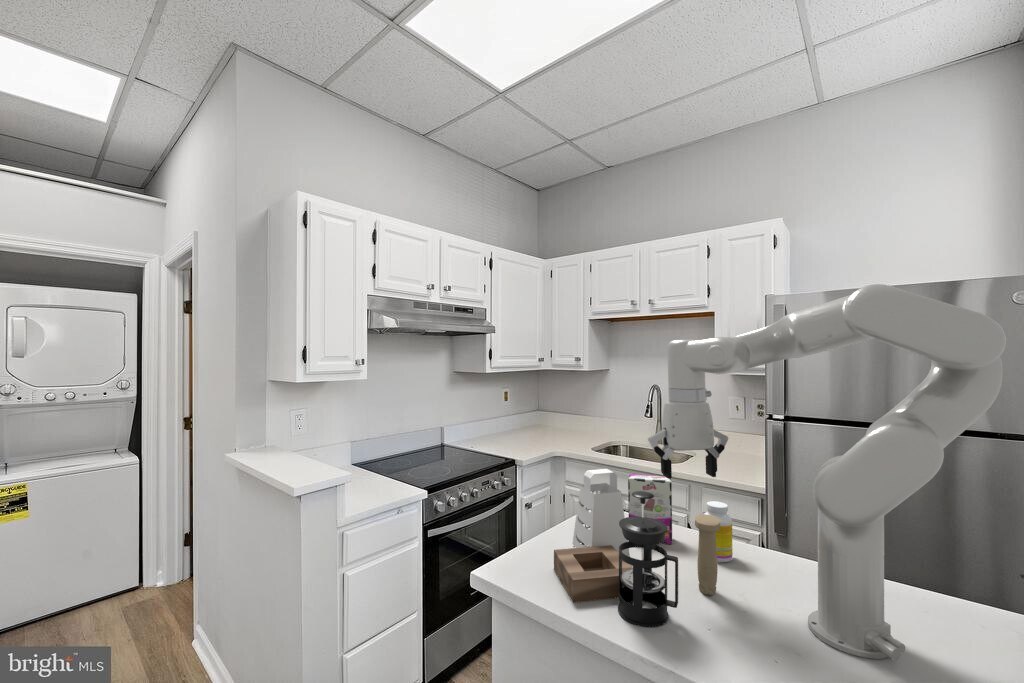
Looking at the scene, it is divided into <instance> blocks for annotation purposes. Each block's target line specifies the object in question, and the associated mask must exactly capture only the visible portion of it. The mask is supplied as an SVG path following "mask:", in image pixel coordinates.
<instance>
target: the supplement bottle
mask: <svg viewBox="0 0 1024 683" xmlns="http://www.w3.org/2000/svg"><path fill="white" fill-rule="evenodd" d="M706 510H707V511H706V512H704V513H703V514H706V515H712V516H715V517H717V518H718V519H719V520H720V530H718V531H716V549H717V563H729V562H731V561H732V560H733V553H734V552H733V519H732V517H731V516H730V515H729V514H728V510H729V507H728V504H727V503H725V502H723V501H722V502H721V501H717V500H716V501H715V500H714V501H713V500H712V501H707V502H706Z"/></svg>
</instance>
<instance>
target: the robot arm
mask: <svg viewBox="0 0 1024 683" xmlns="http://www.w3.org/2000/svg"><path fill="white" fill-rule="evenodd" d="M872 340H877V341H879V342H881V343H885V344H887V345H889V346H892V347H895V348H898V349H900V350H904V351H906V352H909V353H912V354H914V355H917V356H920V357H923V358H925V359H928V360H930V361H931V365H930V366H931V367H930V370H929V372H928V374H927V375H926V377H925V378H924V379H923V381H922V382H920V383H919V384H918V385H917V386H916V387H915V388H914V389H913V390H912V391H911V392H910V393H909V394H908V395H907V396H906V397H904V398H903V399H902V400H901V401H900V402H899V403H897V404H896V405H895V406H894V407H893V408H892V409H890V410H889V411H888V412H887V413H885V414H884V415H883V416H881V417H880V418H878V419H876V420H875V421H873V423H871V424H870V425H869V427H868V428H867V429H866V431H865V432H866V433H865V435H864V436H863V437H861V439H859V441H857V442H856V443H855V444H854V445H853V446H852V447H850V449H848V450H847V451H846V452H845V453H843V455H837V456H834V457H831V458H829V459H828V460H826V461H825V462H823V464H821V467H820V468H819V469H818V472H817V474H816V477H815V479H814V482H813V485H812V496H813V500H814V503H815V505H816V506H817V610H814V611H812V612H811V613H809V615H807V625H808V628H809V630H810V631H811V632H812V634H813V635H814V636H815V637H817V638H818V639H819V640H821V641H823V642H824V643H825V644H826V645H828V646H831V647H832V648H835V649H837V650H838V651H841V652H844V653H847V654H850V655H853V656H857V657H861V658H867V659H875V660H877V659H880V660H881V659H888V658H890V659H891V660H892V661H895V662H898V661H899V660H900V659H901V657H902V653H904V652H905V650H906V645H905V644H904V643H902V642H901V641H899V640H898V639H895V638H894V637H893V636H892V634H891V633H892V632H891V631H892V630H891V628H892V627H891V624H890V623H888V622H886V621H885V516H886V515H888V514H889V513H890V512H891V511H893V509H895V508H897V507H898V506H899V505H900V504H902V503H903V502H904V501H906V500H907V499H908V498H909V497H910V496H912V495H913V494H915V493H916V492H917V491H919V490H920V489H921V488H922V487H924V486H925V485H926V484H927V483H928V482H930V481H931V480H932V479H933V478H934V477H935V476H936V475H937V473H938V472H939V471H940V469H941V467H942V465H943V463H944V458H945V457H944V456H945V451H944V449H945V448H946V447H947V446H949V445H950V444H951V443H952V442H953V441H954V440H956V438H957V437H959V436H961V434H963V433H964V432H965V431H967V429H968V428H969V427H970V426H971V425H972V424H974V423H975V422H976V421H977V420H979V418H981V417H982V416H983V415H984V414H985V413H986V412H987V411H988V410H989V408H991V406H992V405H993V404H994V402H995V401H996V399H997V397H998V395H999V394H1000V391H1001V388H1002V384H1003V378H1004V377H1003V374H1004V370H1003V368H1004V367H1003V361H1002V358H1001V356H1002V355H1003V353H1004V351H1005V349H1006V345H1007V336H1006V333H1005V331H1004V328H1003V327H1002V326H1001V324H999V323H998V322H997V321H996V320H994V318H991V317H989V316H988V315H986V314H983V313H981V312H979V311H978V312H977V311H974V310H971V309H968V308H966V307H965V308H964V307H961V306H957V305H954V304H951V303H948V302H944V301H942V300H938V299H935V298H931V297H928V296H924V295H921V294H918V293H915V292H911V291H908V290H905V289H902V288H900V287H896V286H892V285H889V284H888V285H887V284H884V283H883V284H880V283H877V284H876V283H875V284H870V285H865V286H862V287H860V288H858V289H857V290H855V291H854V292H852V293H851V294H849V295H847V296H842V297H839V298H837V299H834V300H830V301H827V302H824V303H820V304H817V305H815V306H811V307H806V308H803V309H801V310H796V311H792V312H791V313H789V314H786V315H784V316H783V317H780V319H778V320H777V321H775V322H773V323H772V324H769V325H767V326H764V327H761V328H759V329H756V330H755V329H754V330H752V331H749V332H744V333H742V334H738V335H735V336H732V337H731V336H730V337H726V336H724V337H723V336H717V337H711V338H705V339H686V338H685V339H675V340H674V339H673V340H671V341H669V343H668V344H667V355H666V356H667V376H668V377H667V382H668V386H667V387H668V401H667V402H665V403H664V405H663V411H662V412H663V413H662V419H661V420H662V421H661V430H659V431H658V432H656V433H655V434H653V435H651V436H649V437H647V441H648V443H649V445H650V447H651V449H652V450H653V452H654V453H655V454H656V455H658V457H659V458H660V472H661V474H662V476H663V477H666V478H668V479H671V480H672V478H673V477H672V471H673V470H672V460H671V459H670V457H671V456H672V455H673V453H674V452H676V451H677V452H678V451H705V452H706V454H707V455H705V473H706V475H708V476H710V477H712V478H716V477H717V472H718V458H719V457H720V455H721V454H722V452H724V451H725V448H726V447H725V446H726V445H727V443H728V441H729V436H727V435H725V434H724V433H721V432H719V431H717V430H715V429H714V423H713V422H714V421H713V416H712V411H711V407H710V405H709V404H710V403H709V402H707V400H708V398H711V397H712V392H711V390H708V389H707V388H706V373H707V374H708V373H709V374H713V375H715V374H716V375H726V374H730V373H736V372H740V371H744V370H748V369H752V368H756V367H760V366H764V365H769V364H771V363H776V362H780V361H783V360H789V359H790V360H791V359H800V358H805V357H807V356H812V355H816V354H819V353H824V352H827V351H830V350H831V351H832V350H835V349H839V348H843V347H847V346H848V347H849V346H852V345H855V344H860V343H864V342H868V341H872ZM715 438H717V443H716V444H715ZM659 441H661V444H662V448H661V447H660V446H659V444H658V442H659Z"/></svg>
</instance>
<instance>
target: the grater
mask: <svg viewBox="0 0 1024 683" xmlns="http://www.w3.org/2000/svg"><path fill="white" fill-rule="evenodd" d="M599 474H609V483H607V482H603V483H593V484H591V479H592V477H593V476H594V475H599ZM594 492H595V493H594ZM598 492H600V493H598ZM577 501H578V502H577V509H576V516H575V523H574V530H573V536H572V544H573V545H574V546H575V547H576V548H582V547H595V546H607V545H612V546H613V547H614V549H615V550H616V551H617V552H618V553H619V546H620V545H621V544H622V543H624V542H628V540H626V539H625V538H624V536H623V533H622V528H620V526H619V521H620V520H621V519H623V518H626V517H625V511H624V503H623V497H622V491H621V490H619V489H618V475H617V474H616V473H615V472H614V471H612V470H610V469H608V468H600V469H589V470H586V471H585V472H584V473H583V484H582V485H580V487H579V493H578V500H577ZM584 507H585V508H584ZM589 511H590V512H589ZM580 543H584V544H580ZM572 544H571V545H572ZM584 545H585V546H584ZM622 553H623V554H625V555H627V556H629V557H631V556H630V548H628V549H625V550H623V551H622Z"/></svg>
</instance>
